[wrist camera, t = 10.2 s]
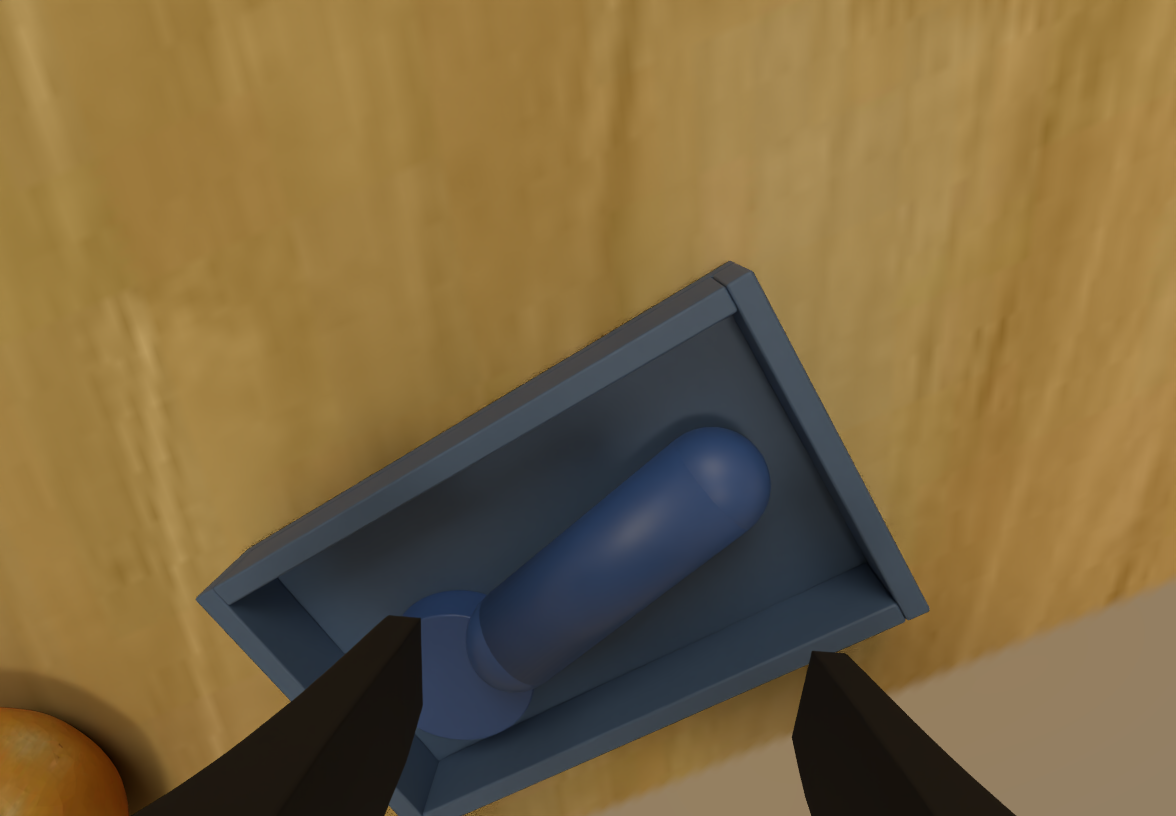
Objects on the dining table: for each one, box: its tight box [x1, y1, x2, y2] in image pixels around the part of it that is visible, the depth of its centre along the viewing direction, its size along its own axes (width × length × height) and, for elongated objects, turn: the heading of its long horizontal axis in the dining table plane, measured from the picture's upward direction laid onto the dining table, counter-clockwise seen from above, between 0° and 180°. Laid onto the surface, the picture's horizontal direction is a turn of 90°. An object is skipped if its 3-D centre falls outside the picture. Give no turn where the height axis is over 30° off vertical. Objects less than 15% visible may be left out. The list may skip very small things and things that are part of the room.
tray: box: [196, 261, 929, 816], centre depth 15 cm, size 15×9×2 cm, turn 122°
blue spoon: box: [402, 427, 771, 740], centre depth 15 cm, size 12×4×3 cm, turn 133°
